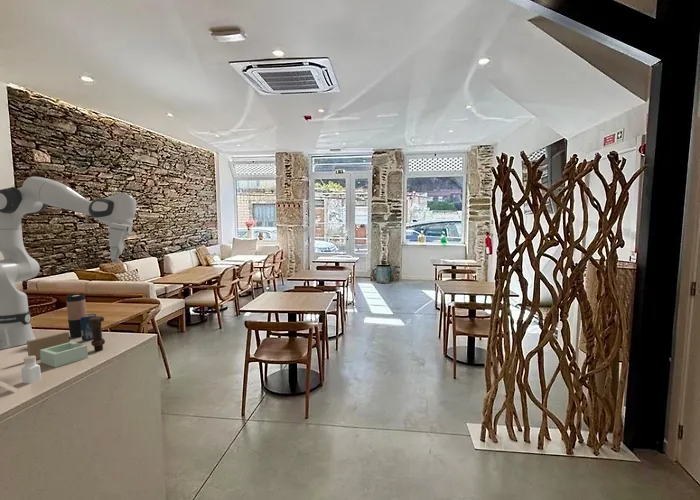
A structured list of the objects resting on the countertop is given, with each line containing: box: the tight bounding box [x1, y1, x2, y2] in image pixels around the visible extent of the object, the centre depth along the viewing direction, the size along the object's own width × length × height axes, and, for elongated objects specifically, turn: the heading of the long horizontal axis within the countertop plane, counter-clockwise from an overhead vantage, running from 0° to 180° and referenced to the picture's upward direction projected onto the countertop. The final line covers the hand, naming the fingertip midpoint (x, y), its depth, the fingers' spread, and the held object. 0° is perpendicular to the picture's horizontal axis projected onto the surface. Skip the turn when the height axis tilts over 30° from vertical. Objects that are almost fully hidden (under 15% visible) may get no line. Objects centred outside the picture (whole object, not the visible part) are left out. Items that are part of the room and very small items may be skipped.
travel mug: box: [65, 293, 88, 339], centre depth 195 cm, size 8×8×20 cm
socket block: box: [40, 341, 89, 368], centre depth 159 cm, size 12×12×5 cm
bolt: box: [88, 315, 106, 352], centre depth 169 cm, size 6×5×15 cm
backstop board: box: [26, 331, 71, 361], centre depth 161 cm, size 21×14×9 cm, turn 60°
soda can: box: [80, 313, 98, 342], centre depth 187 cm, size 7×7×12 cm
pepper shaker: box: [20, 355, 42, 384], centre depth 139 cm, size 4×4×10 cm
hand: (113, 260), depth 171 cm, fingers open, 8 cm apart
